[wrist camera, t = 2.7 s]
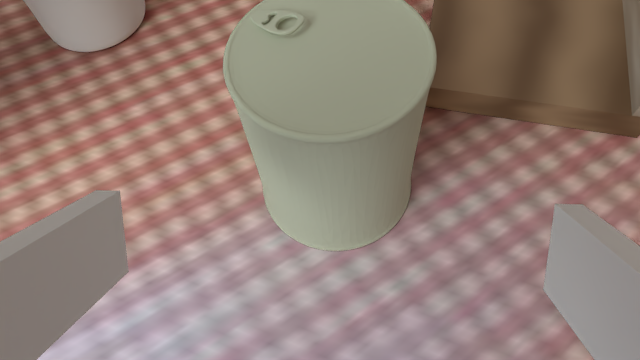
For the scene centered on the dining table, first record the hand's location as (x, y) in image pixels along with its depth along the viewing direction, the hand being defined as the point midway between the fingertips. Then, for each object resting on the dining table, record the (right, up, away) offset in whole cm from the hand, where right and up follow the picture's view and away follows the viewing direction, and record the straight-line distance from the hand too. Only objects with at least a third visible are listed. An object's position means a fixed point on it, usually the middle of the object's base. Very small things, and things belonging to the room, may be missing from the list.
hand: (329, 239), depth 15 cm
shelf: (+15, +14, +22) cm, 30 cm away
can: (+1, +2, +16) cm, 16 cm away
